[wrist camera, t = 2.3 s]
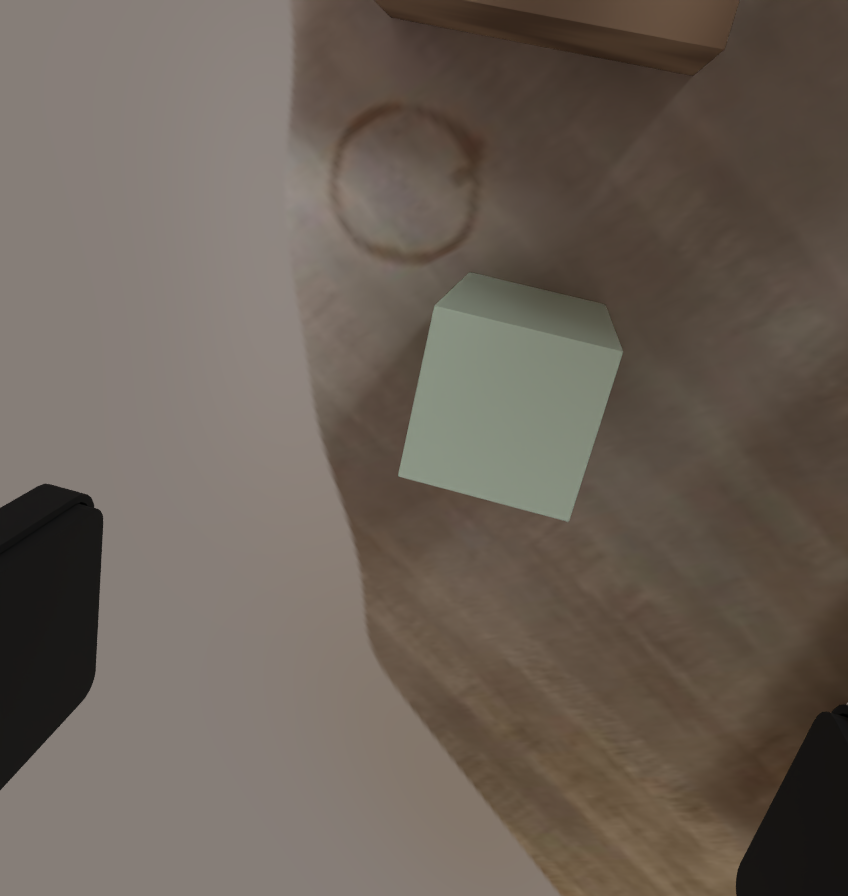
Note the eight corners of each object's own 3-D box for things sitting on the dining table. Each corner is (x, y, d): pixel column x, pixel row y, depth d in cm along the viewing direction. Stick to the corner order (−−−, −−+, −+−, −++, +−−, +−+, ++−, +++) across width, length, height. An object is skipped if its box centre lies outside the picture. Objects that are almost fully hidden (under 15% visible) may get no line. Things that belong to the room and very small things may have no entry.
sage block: (605, 304, 26) (623, 351, 18) (566, 432, 28) (568, 522, 20) (469, 271, 26) (434, 305, 19) (440, 399, 28) (397, 476, 21)
